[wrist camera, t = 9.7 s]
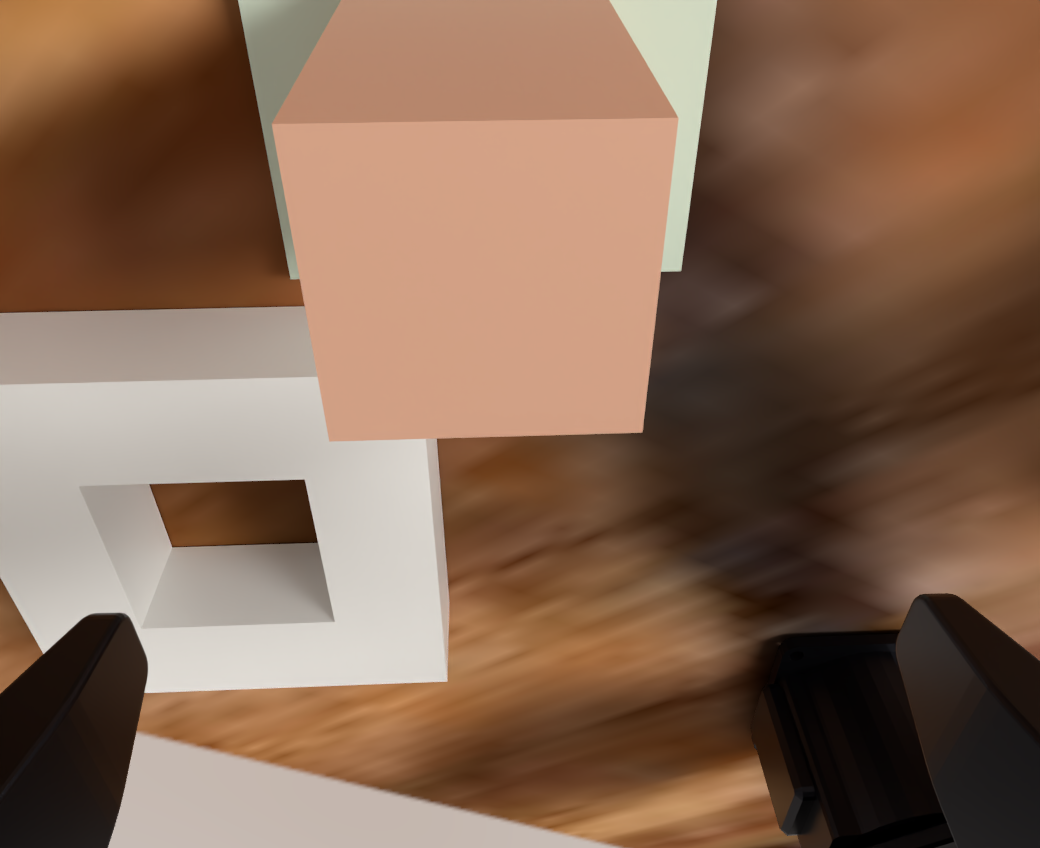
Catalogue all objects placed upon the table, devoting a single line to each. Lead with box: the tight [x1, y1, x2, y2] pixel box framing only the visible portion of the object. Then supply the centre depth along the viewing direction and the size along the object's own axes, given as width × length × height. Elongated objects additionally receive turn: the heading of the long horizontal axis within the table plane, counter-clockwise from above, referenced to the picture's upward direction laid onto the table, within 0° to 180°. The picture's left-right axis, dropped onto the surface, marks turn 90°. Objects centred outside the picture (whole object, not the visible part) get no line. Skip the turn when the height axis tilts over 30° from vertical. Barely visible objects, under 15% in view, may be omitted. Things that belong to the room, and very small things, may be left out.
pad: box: [238, 0, 717, 279], centre depth 17 cm, size 9×9×1 cm
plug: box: [272, 0, 679, 442], centre depth 13 cm, size 4×4×9 cm
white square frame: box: [0, 306, 449, 693], centre depth 22 cm, size 11×11×3 cm
